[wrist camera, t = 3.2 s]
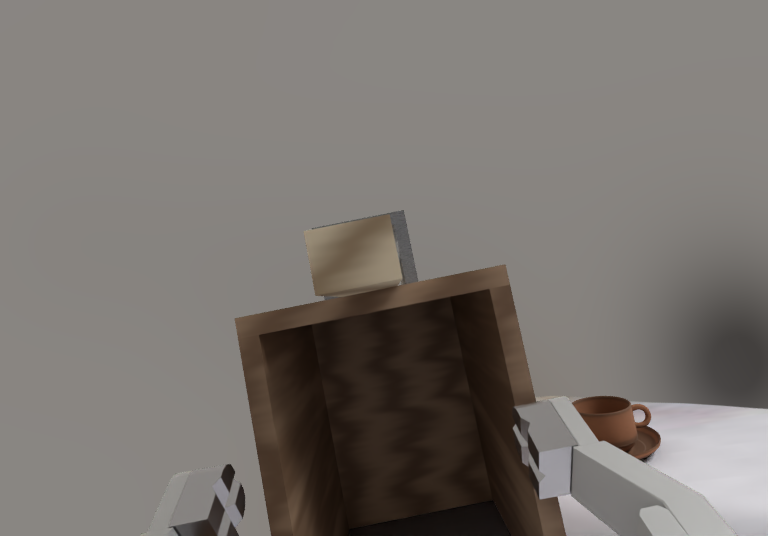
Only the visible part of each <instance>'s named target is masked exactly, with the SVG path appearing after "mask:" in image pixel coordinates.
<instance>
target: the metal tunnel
mask: <svg viewBox="0 0 768 536" xmlns="http://www.w3.org/2000/svg"><path fill="white" fill-rule="evenodd" d="M388 214H390V219H391V224H392V229H393V234H394V239H395V244H396V249H397V253H398V258H399V263H400V268H401V273H402V280H401V285H405V284H410V283H415V282H418V278H417V273H416V268H415V264H414V258H413V254H412V249H411V244H410V239H409V234H408V229H407V224H406V220H405V215H404V211H403V210H402V211H398V212H392V213H387V214H383V215H388ZM383 215H378V216H383ZM373 217H377V216H373ZM367 218H372V217H367ZM367 218H362V219H367ZM362 219H357V220H362ZM357 220H352V221H357ZM352 221H347V222H352ZM347 222H342V223H347ZM342 223H337V224H342ZM337 224H332V225H337ZM332 225H327V226H332ZM327 226H322V227H327ZM322 227H317V228H322ZM317 228H312V229H317ZM324 297H325V300H330V299H335V298H340V297H335V296H324Z"/></svg>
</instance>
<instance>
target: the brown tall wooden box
mask: <svg viewBox="0 0 768 536" xmlns="http://www.w3.org/2000/svg"><path fill="white" fill-rule="evenodd" d="M235 323H236V329H237V335H238V341H239V347H240V352H241V359H242V365H243V370H244V377H245V382H246V388H247V394H248V400H249V406H250V412H251V418H252V424H253V430H254V435H255V442H256V447H257V454H258V459H259V465H260V471H261V477H262V483H263V489H264V495H265V501H266V507H267V513H268V519H269V524H270V530H271V536H348V533H349V529H352V528H357V527H362V526H367V525H372V524H377V523H382V522H387V521H392V520H397V519H402V518H407V517H412V516H416V515H421V514H426V513H431V512H436V511H441V510H446V509H451V508H456V507H461V506H466V505H471V504H476V503H481V502H486V501H491V500H493V501H494V503H495V505H496V507H497V509H498V511H499V513H500V515H501V517H502V519H503V521H504V523H505V525H506V526H507V528H508V530H509V532H510V534H511V536H566V533H565V529H564V524H563V520H562V515H561V511H560V506H559V502H558V498H557V497H551V498H546V499H539V497H538V495H537V493H536V491H535V489H534V487H533V485H532V482H531V480H530V478H529V467H528V466H527V465H525V464H524V463H522V461H521V459H520V456H519V454H518V451H517V449H516V446H515V441H514V437H513V427H514V426H515V422H514V419H513V417H512V408H513V407H514V406H519V405H523V404H528V403H533V402H536V399H535V395H534V390H533V386H532V382H531V377H530V373H529V368H528V363H527V359H526V355H525V350H524V345H523V341H522V337H521V332H520V328H519V323H518V319H517V315H516V310H515V306H514V301H513V296H512V292H511V287H510V283H509V279H508V275H507V270H506V265H500V266H495V267H490V268H485V269H480V270H475V271H470V272H465V273H460V274H455V275H450V276H445V277H440V278H435V279H430V280H425V281H420V282H415V283H410V284H405V285H400V286H395V287H390V288H385V289H380V290H375V291H370V292H365V293H360V294H355V295H350V296H345V297H340V298H335V299H330V300H325V301H320V302H315V303H310V304H305V305H300V306H295V307H290V308H285V309H280V310H275V311H270V312H264V313H260V314H255V315H249V316H245V317H239V318H235Z"/></svg>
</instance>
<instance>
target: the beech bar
mask: <svg viewBox="0 0 768 536" xmlns="http://www.w3.org/2000/svg"><path fill="white" fill-rule="evenodd" d="M304 236H305V241H306V247H307V252H308V258H309V263H310V268H311V274H312V279H313V284H314V290H315V295H316V296H335V297H345V296H350V295H355V294H360V293H365V292H370V291H375V290H380V289H385V288H390V287H395V286H398V284H399V283H400V281H401V280H402V273H401V268H400V263H399V258H398V253H397V249H396V244H395V239H394V234H393V229H392V224H391V219H390V214H388V215H383V216H377V217H372V218H367V219H362V220H357V221H352V222H347V223H342V224H337V225H332V226H327V227H322V228H317V229H312V230H307V231H304Z"/></svg>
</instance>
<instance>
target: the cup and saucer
mask: <svg viewBox="0 0 768 536" xmlns="http://www.w3.org/2000/svg"><path fill="white" fill-rule="evenodd" d="M572 404H573V406H574V407H575V408H576V410H577V411H578V413H579V414H580V415H581V417H582V418H583V420H584V421H585V423H586V424H587V425H588V427H589V428H590V430H591V431H592V432H593V434H594V435H595V437H596V438H597V439H598V441H606V442H608V443H610V444H611V445H613V446H615V447H617V448H619V449H620V450H622V451H624V452H626V453H628V454H630V455H631V456H633V457H635V458H637V459H639V460H640V459H643V458H645V457H647V456H649V455H651V454H652V453H654V452H655V451H656V450H657V449H658V447H659V446H660V442H661V438H660V435H659V434H658V432H656V431H655V430H654V429H652V428H650V427H648V426H647V425H648V424H649V423H650V420H651V413H650V411H649V409H648V408H647V407H645V406H644V405H641V404H635V405H631V403H630V402H629V401H628V400H626V399H624V398H620V397H613V396H595V397H588V398H583V399H579V400H576V401H574V402H573V403H572ZM637 409H640V410H643V411H644V413H645V420H644V421H643V422H640V423H636V422H635V421H634V416H633V411H634V410H637Z"/></svg>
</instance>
